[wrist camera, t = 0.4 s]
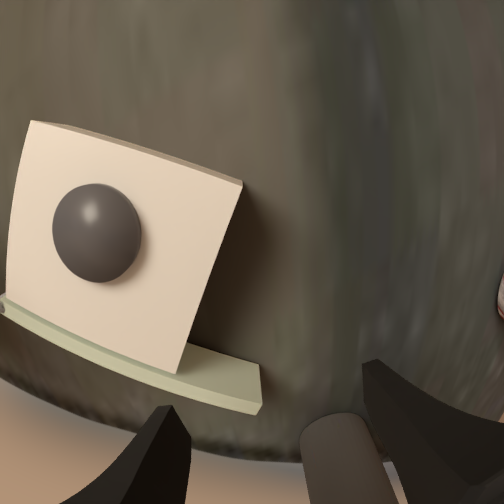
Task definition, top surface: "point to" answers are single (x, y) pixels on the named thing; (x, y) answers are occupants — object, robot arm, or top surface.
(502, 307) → the soda can
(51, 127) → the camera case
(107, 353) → the cream flat bar
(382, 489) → the bottle
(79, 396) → the top surface
